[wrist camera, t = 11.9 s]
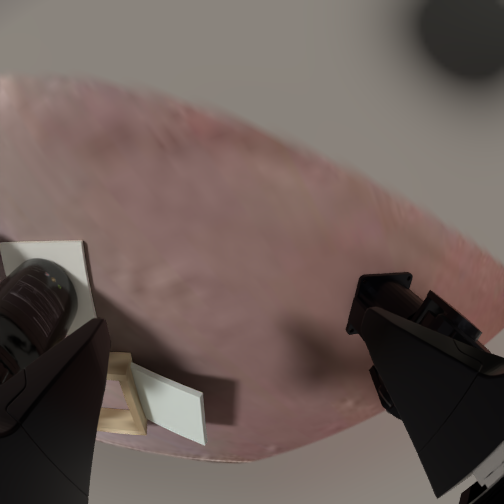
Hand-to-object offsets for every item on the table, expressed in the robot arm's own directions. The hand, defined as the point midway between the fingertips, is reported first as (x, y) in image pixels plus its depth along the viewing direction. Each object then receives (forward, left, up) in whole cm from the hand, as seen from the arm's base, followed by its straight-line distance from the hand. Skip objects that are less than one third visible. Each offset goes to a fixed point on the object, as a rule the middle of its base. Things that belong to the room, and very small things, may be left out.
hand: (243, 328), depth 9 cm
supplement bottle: (+15, +6, -13) cm, 20 cm away
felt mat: (+15, +6, -13) cm, 21 cm away
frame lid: (+5, +18, -13) cm, 22 cm away
